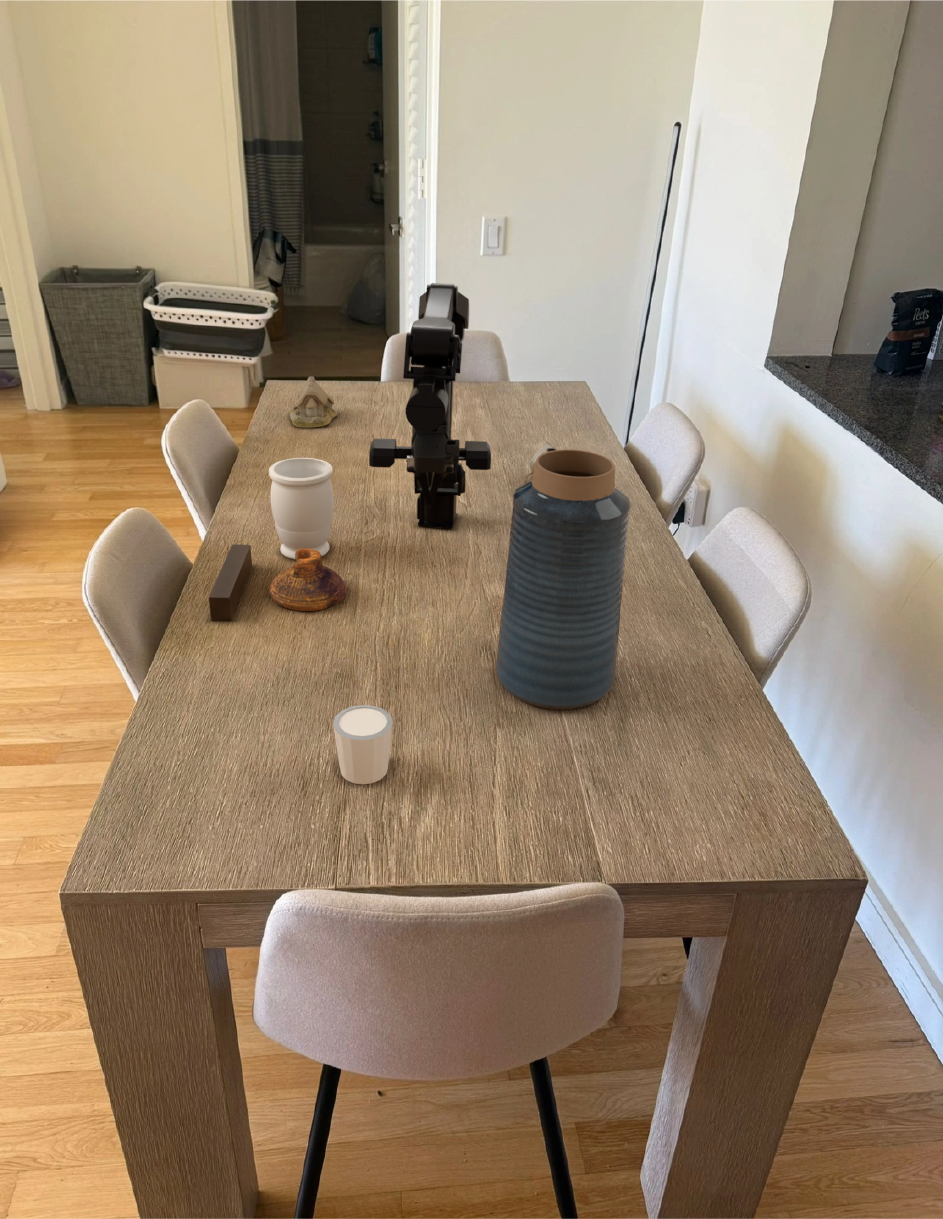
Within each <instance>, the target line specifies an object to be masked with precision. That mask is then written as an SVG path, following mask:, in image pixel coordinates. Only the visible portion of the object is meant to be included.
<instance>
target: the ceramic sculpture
mask: <svg viewBox="0 0 943 1219" xmlns="http://www.w3.org/2000/svg"><path fill="white" fill-rule="evenodd" d="M555 450H559V449H558V448H556V447H555V446H554V445H552V444H551V443H550V442H549V441H547V442H546V443H545V444H544V445H543V446H542V447H540V448H539V449H537V451H536V452H535V453H534V454H533V456H532V458H531V460H529V467H530V471H531V472H529V473H528V474H527V475H526V476H525V480H524V483H526V482H528V481H530V480H532V478H533V473H534V468H535V463H536V459H537V458H538V457H539V456H540V455H542V454H544V453H546V452H550V451H555Z"/></svg>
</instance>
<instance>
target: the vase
mask: <svg viewBox="0 0 943 1219" xmlns="http://www.w3.org/2000/svg"><path fill="white" fill-rule="evenodd" d="M615 469H616V468H615V464H614V462H613V460H611V459H610V458H608V457H606V456H604V455H602V454H599V453H596V452H592V451H588V450H580V449H558V450H555V451H550V452H546V453H544V454H542V455H540V456H539V457H538V458H537V459H536V463H535V468H534V473H533V478H532V480H530V481H528V482H526V483H525V482H524V483H522V484H520V485H519V486H518V487H517V488H516V489H515V491H514V492H513V496H512V497H513V498H512V499H513V500H512V510H511V512H512V514H511V522H510V531H509V540H508V541H509V542H508V553H507V562H506V570H505V571H506V572H505V581H504V590H503V600H502V606H501V616H500V626H499V633H498V634H499V636H498V644H497V654H496V655H497V656H496V661H495V662H496V663H495V672H496V676H497V679H498V681H499V682H500V684H501V685H502V686H503V688H504V689H505V690H507V691H508V692H509V693H510V694H511V695H512V696H513V697H515V698H516V699H518V700H520V701H522V702H524V703H526V704H529V705H532V706H535V707H538V708H543V709H549V710H572V709H573V710H574V709H579V708H584V707H587V706H589V705H591V704H594V703H596V702H597V701H599V700H601V699H602V698H603V697H606V695H607V694H608V693H610V691H611V689H612V688H613V686H614V683H615V679H616V669H617V665H616V664H617V658H618V647H619V635H620V625H621V607H622V597H623V596H622V594H623V585H624V576H625V575H624V574H625V563H626V552H627V543H628V542H627V540H628V530H629V521H630V520H629V519H630V511H631V500H630V499H629V497H628V496H627V494H625V492H623V491H622V490H621V489H620V488H619V487H618V486H616V474H615V473H616V470H615Z"/></svg>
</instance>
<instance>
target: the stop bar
mask: <svg viewBox="0 0 943 1219" xmlns="http://www.w3.org/2000/svg"><path fill="white" fill-rule="evenodd" d="M252 568H253V558H252V546H251V544H231V546H230V548H229V550H228V553H227V555H226V557H225V559H224V562H223V564H222V566H221V569H220V571H219V573H218V575H217V578H216V580H215V583H214V584H213V587H212V589H211V591H210V594H209V596H208V604H209V614H210V621H212V622H233V619H234V616H235V613H236V610H237V607H238V604H239V603H240V599H241V597H242V594H243V592H244V590H245V586H246V584H247V581H248V579H249V576H250V574H251V571H252Z"/></svg>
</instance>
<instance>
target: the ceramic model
mask: <svg viewBox="0 0 943 1219" xmlns="http://www.w3.org/2000/svg"><path fill="white" fill-rule="evenodd" d="M334 404H335V399H334V398H333V397H332V396H330V395H329V394H328V393H327V392H326V391H325V390H324V389H323V388H322V386H321V385H320V384H319V383H318V382H317V381H316V379H315V377H314V376H313V375H312V376H311V375H309V376H308V378H307V380H306V381H305V383H304V384H303V385H302V386H300V389H299V391H297V393H296V404H295V406H293V407H292V408H291V410H290V412H289V417H290V420H291V423H292V424H293V425H294V426H295V427H297V428H319V427H324V426H327V425H329V424H330V423H332V420H333V419H334V418H335V417H336V416H338V411H337V410H336V409H333V405H334Z"/></svg>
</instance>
